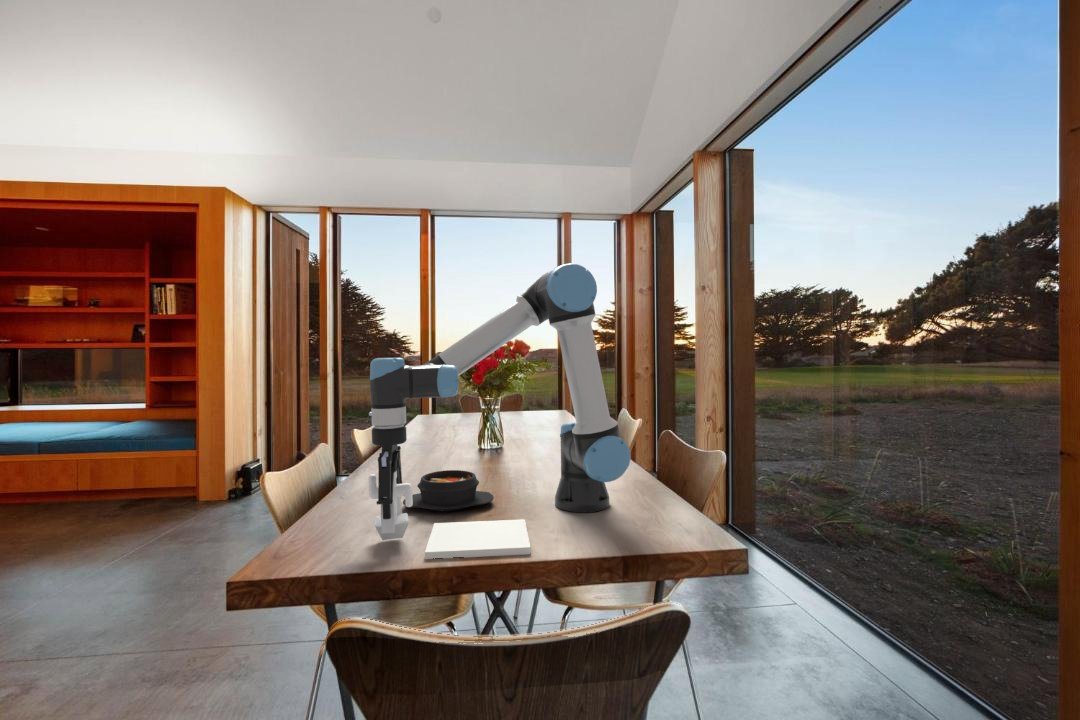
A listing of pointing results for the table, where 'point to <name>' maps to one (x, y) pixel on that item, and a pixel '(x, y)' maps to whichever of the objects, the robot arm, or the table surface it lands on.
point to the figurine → (399, 519)
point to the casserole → (449, 491)
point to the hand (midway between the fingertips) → (391, 525)
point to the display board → (478, 539)
